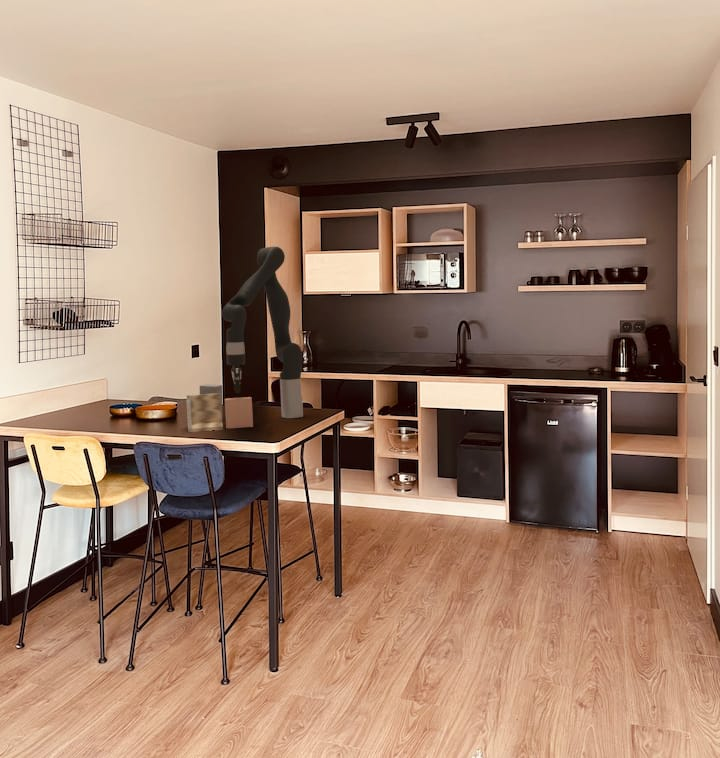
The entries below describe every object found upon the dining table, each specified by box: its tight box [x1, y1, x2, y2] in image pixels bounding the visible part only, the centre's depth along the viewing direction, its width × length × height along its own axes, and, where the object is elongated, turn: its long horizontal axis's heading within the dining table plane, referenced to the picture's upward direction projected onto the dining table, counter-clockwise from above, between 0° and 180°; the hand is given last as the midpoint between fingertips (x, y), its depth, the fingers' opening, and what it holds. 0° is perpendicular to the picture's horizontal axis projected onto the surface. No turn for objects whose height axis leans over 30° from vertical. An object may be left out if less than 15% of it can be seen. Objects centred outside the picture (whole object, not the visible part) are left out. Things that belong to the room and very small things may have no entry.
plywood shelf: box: [186, 393, 224, 433], centre depth 310 cm, size 14×13×14 cm
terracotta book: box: [224, 396, 254, 429], centre depth 312 cm, size 11×4×12 cm, turn 102°
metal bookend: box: [185, 397, 192, 430], centre depth 308 cm, size 2×12×11 cm, turn 12°
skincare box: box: [199, 383, 223, 413], centre depth 330 cm, size 8×7×16 cm
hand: (237, 391), depth 311 cm, fingers open, 8 cm apart
